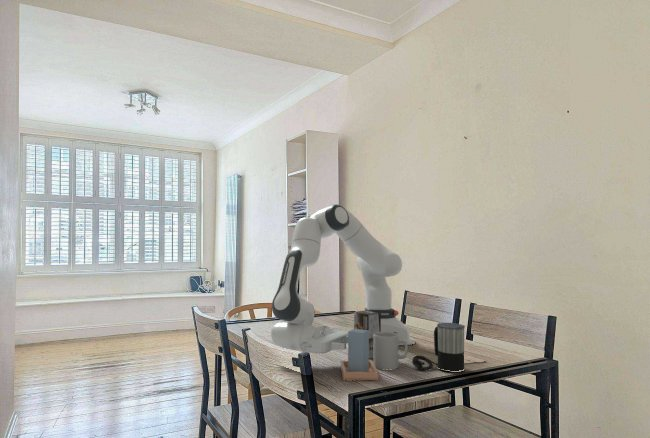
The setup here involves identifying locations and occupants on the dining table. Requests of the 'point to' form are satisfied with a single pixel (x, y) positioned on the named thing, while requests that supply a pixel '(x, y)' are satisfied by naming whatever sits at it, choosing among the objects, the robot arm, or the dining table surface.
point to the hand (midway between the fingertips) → (351, 343)
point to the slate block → (358, 350)
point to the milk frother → (446, 348)
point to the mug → (387, 350)
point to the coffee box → (368, 325)
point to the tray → (359, 373)
